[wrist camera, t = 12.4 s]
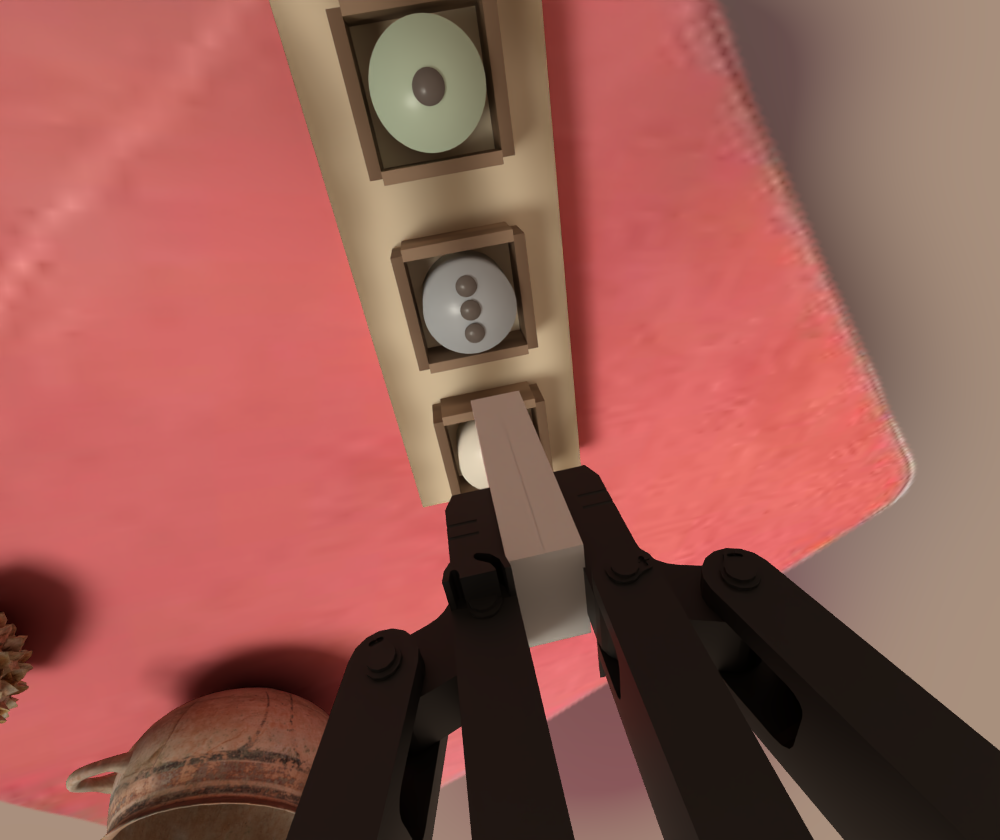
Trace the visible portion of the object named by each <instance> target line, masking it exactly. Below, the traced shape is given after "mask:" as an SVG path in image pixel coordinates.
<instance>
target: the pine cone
mask: <svg viewBox="0 0 1000 840" xmlns="http://www.w3.org/2000/svg"><path fill="white" fill-rule="evenodd" d="M6 622H7V618H6V616H5V615H4V612H1V613H0V723H4V722H6V721H7V720H6V719H5V718H7V717H9V715H8V713H7V712H9V711H10V710H9V709H12V708H15V707H17V706H18V705H17V704H16V703H15V702H16V701H18V700H19V699H16V698H13V697H11V695H16V694H19V693H21V692H23V691H25V690H27V689H28V688H29V686H27V685H26V682H23V681H20V680H21V679H23V678H24V676H25V675H26V673H27V672H28V671H29V670H31V669H33V667H32V666H31V664H28V663H24V662H25V661H27V660H28V659H29V658H30V657H31V655H32V652H33V650H32V651H27V650H21V648H22V646H23V645H24V641H25V640H26V638H27V637H28V636H22V635H19V636H17V635H15V633H16V629H17V628H16V626H15V625H14V624H7V625H5V624H6ZM16 636H17V637H16Z"/></svg>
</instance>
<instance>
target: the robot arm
mask: <svg viewBox="0 0 1000 840" xmlns="http://www.w3.org/2000/svg"><path fill="white" fill-rule="evenodd" d="M471 406H472V410H473V415H474V420H475V425H476V430H477V434H478V439H479V444H480V449H481V453H482V458H483V463H484V468H485V473H486V477H487V481H488V486H489V488H484V489H480V490H475V491H471V492H466V493H462V494H457V495H453V496H452V497H451V499H450V501H449V503H448V506H447V508H446V510H445V514H446V524H447V534H448V545H449V555H450V563H449V564H448V566H447V568H446V569H445V571H444V574H443V580H442V584H443V587H444V590H445V593H446V597H447V600H448V603H449V604H448V606H447V608H446V609H445V611H444V612H443V613H442V614H441V615H440V616H439V617H438V618H437V619H436V620H434V621H433V622H432V623H430V624H429V625H427V626H425V627H423V628H422V629H420V630H418V631H416V632H414V633H413V634H411V635H410V634H409V633H407V632H406V631H404V630H398V629H387V630H382V631H379V632H377V633H375V634H373V635H371V636H369V637H368V638H366V639H365V640H364V641H363V642H362V643H361V644H360V645H359V646H358V647H357V648H356V649H355V651H354V653H353V654H352V656H351V658H350V660H349V662H348V665H347V668H346V670H345V673H344V676H343V679H342V682H341V685H340V687H339V690H338V693H337V696H336V699H335V702H334V704H333V707H332V710H331V713H330V716H329V719H328V721H327V724H326V727H325V730H324V733H323V736H322V738H321V741H320V744H319V747H318V750H317V753H316V755H315V758H314V761H313V764H312V767H311V770H310V772H309V775H308V778H307V781H306V784H305V787H304V789H303V792H302V795H301V798H300V801H299V804H298V806H297V809H296V812H295V815H294V818H293V821H292V823H291V826H290V829H289V832H288V835H287V838H286V840H432V836H433V830H434V823H435V817H436V810H437V804H438V797H439V791H440V785H441V778H442V772H443V765H444V759H445V752H446V746H447V739H448V735H449V734H450V733H452V732H453V731H455V730H456V729H458V728H460V727H461V726H462V737H463V748H464V759H465V770H466V780H467V791H468V801H469V813H470V824H471V835H472V840H575V839H574V835H573V830H572V826H571V822H570V818H569V814H568V809H567V805H566V801H565V797H564V792H563V788H562V784H561V780H560V776H559V771H558V767H557V763H556V759H555V754H554V750H553V746H552V741H551V737H550V733H549V729H548V725H547V720H546V716H545V712H544V708H543V703H542V699H541V695H540V691H539V686H538V682H537V678H536V674H535V669H534V665H533V661H532V657H531V652H530V648H529V647H533V646H537V645H541V644H546V643H550V642H554V641H558V640H562V639H566V638H570V637H575V636H579V635H583V634H587V633H591V626H590V622H591V625H592V627H593V630H594V633H595V635H596V638H597V647H598V660H599V670H600V678H601V677H605V675H606V678H607V681H608V684H609V686H610V689H611V692H612V695H613V698H614V700H615V703H616V706H617V709H618V712H619V714H620V717H621V720H622V723H623V725H624V728H625V731H626V734H627V737H628V740H629V743H630V745H631V748H632V751H633V754H634V756H635V759H636V762H637V765H638V768H639V771H640V773H641V776H642V779H643V782H644V785H645V787H646V790H647V793H648V796H649V799H650V801H651V804H652V807H653V810H654V813H655V815H656V818H657V821H658V824H659V827H660V829H661V832H662V835H663V838H664V840H814V839H813V837H812V836H811V834H810V832H809V831H808V829H807V827H806V825H805V823H804V822H803V820H802V818H801V816H800V815H799V813H798V811H797V809H796V807H795V806H794V804H793V802H792V801H791V799H790V797H789V795H788V793H787V792H786V790H785V788H784V786H783V785H782V783H781V781H780V779H779V777H778V776H777V774H776V772H775V770H774V769H773V767H772V765H771V763H770V762H769V760H768V758H767V756H766V754H765V753H764V751H763V749H762V747H761V746H760V744H759V742H758V740H757V739H756V737H755V735H754V733H755V734H756V735H757V737H758V738H759V739H760V740H761V741H762V743H763V744H764V745H765V746H766V747H767V749H768V750H769V751H770V752H771V753H772V755H773V756H774V757H775V758H776V759H777V760H778V762H779V763H780V764H781V765H782V766H783V768H784V769H785V770H786V771H787V772H788V774H789V775H790V776H791V777H792V778H793V779H794V781H795V782H796V783H797V784H798V785H799V786H800V788H801V789H802V790H803V791H804V792H805V794H806V795H807V796H808V797H809V798H810V800H811V801H812V802H813V803H814V804H815V806H816V807H817V808H818V809H819V810H820V812H821V813H822V814H823V815H824V816H825V817H826V819H827V820H828V821H829V822H830V823H831V825H833V827H834V828H835V829H836V831H837V832H838V833H839V834H840V835H841V836H842V838H843V839H844V840H1000V751H999V750H998V749H997V748H996V747H995V746H993V745H992V744H991V743H990V742H988V741H987V740H986V739H985V738H983V737H982V736H981V735H980V734H979V733H977V732H976V731H975V730H974V729H972V728H971V727H970V726H969V725H968V724H966V723H965V722H964V721H963V720H961V719H960V718H959V717H958V716H957V715H955V714H954V713H953V712H952V711H950V710H949V709H948V708H947V707H945V706H944V705H943V704H942V703H940V702H939V701H938V700H937V699H936V698H934V697H933V696H932V695H931V694H929V693H928V692H927V691H926V690H925V689H923V688H922V687H921V686H920V685H919V684H917V683H916V682H915V681H914V680H912V679H911V678H910V677H909V676H907V675H906V674H905V673H904V672H903V671H901V670H900V669H899V668H898V667H896V666H895V665H894V664H893V663H892V662H890V661H889V660H888V659H887V658H885V657H884V656H883V655H882V654H881V653H879V652H878V651H877V650H876V649H874V648H873V647H872V646H871V645H870V644H868V643H867V642H866V641H864V640H863V639H862V638H861V637H860V636H858V635H857V634H856V633H855V632H854V631H852V630H851V629H850V628H849V627H847V626H846V625H845V624H844V623H843V622H841V621H840V620H839V619H838V618H836V617H835V616H834V615H833V614H832V613H830V612H829V611H828V610H826V609H825V608H824V607H823V606H822V605H820V604H819V603H818V602H817V601H816V600H814V599H813V598H812V597H811V596H809V595H808V594H807V593H806V592H804V591H803V590H802V589H801V588H799V587H798V586H797V585H796V584H795V583H794V582H792V581H791V580H790V579H789V578H787V577H786V576H785V575H784V574H782V573H781V572H780V571H779V570H778V569H776V568H775V567H774V566H773V565H771V564H770V563H769V562H768V561H767V560H765V559H763V558H762V557H760V556H758V555H757V554H755V553H753V552H749V551H746V550H743V549H734V548H725V549H721V550H717V551H714V552H713V553H711V554H710V555H709V556H707V557H706V558H705V560H704V563H703V565H702V566H694V565H675V564H668V563H664V562H661V561H658V560H655V559H654V558H652V556H651V555H650V554H649V553H647V552H645V551H643V550H642V549H640V548H639V547H638V545H637V544H636V542H635V540H634V539H633V537H632V535H631V533H630V531H629V529H628V528H627V526H626V524H625V522H624V520H623V519H622V517H621V515H620V513H619V511H618V509H617V508H616V506H615V504H614V503H613V501H612V498H611V497H610V495H609V493H608V491H607V490H606V487H605V486H604V484H603V482H602V480H601V478H600V476H599V475H598V474H596V473H595V472H594V471H592V470H591V469H589V468H588V467H587V466H585V465H582V466H578V467H573V468H569V469H564V470H560V471H555V472H553V471H552V468H551V466H550V464H549V461H548V459H547V457H546V454H545V452H544V449H543V447H542V445H541V442H540V440H539V437H538V435H537V433H536V430H535V428H534V426H533V423H532V421H531V418H530V416H529V414H528V411H527V409H526V406H525V404H524V402H523V399H522V397H521V395H520V392H519V391H514V392H509V393H505V394H500V395H495V396H490V397H486V398H481V399H476V400H471ZM752 731H753V732H754V733H753V732H752Z"/></svg>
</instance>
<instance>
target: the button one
mask: <svg viewBox="0 0 1000 840" xmlns="http://www.w3.org/2000/svg"><path fill="white" fill-rule="evenodd" d="M368 80H369V90H370V96H371V99H372V103H373V106H374V108H375V111H376V113H377V115H378V117H379V119H380V121H381V122H382V124H383V125H384V127H385V128H386V129H387V130H388V132H389V133H390V134H391V135H392V136H393V137H394V138H396V139H397V140H398V141H399V142H401V143H402V144H404V145H405V146H407V147H409V148H411V149H414V150H417V151H420V152H426V153H438V152H444V151H447V150H450V149H452V148H455V147H456V146H458V145H459V144H461V143H462V142H463V141H465V140H466V139H467V138H468V137H469V136H470V135H471V133H472V132H473V131H474V129H475V128H476V126H477V124H478V122H479V120H480V118H481V115H482V113H483V109H484V105H485V99H486V77H485V72H484V67H483V64H482V61H481V58H480V56H479V53H478V51H477V49H476V48H475V46H474V44H473V42H472V41H471V40H470V38H469V37H468V36H467V35H466V34H465V32H464V31H463V30H462V29H461V28H459V27H458V26H457V25H456V24H454V23H453V22H451V21H450V20H448V19H446V18H444V17H441V16H439V15H435V14H431V13H415V14H411V15H407V16H404V17H402V18H400V19H398V20H397V21H395V22H394V23H392V24H391V25H390V26H389V27H388V28H387V29H386V30H385V31H384V32H383V34H382V35H381V36H380V38H379V39H378V41H377V43H376V45H375V47H374V50H373V52H372V56H371V59H370V65H369V77H368Z"/></svg>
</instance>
